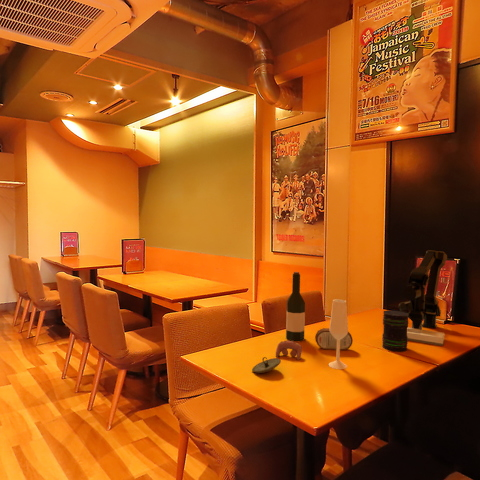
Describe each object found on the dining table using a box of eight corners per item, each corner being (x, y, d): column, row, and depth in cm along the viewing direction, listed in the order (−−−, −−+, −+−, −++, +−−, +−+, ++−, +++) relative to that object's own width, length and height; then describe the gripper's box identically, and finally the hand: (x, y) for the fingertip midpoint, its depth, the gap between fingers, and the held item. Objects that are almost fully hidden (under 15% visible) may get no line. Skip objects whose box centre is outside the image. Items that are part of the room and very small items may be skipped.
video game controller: (301, 361, 147) (303, 343, 150) (299, 360, 143) (301, 341, 146) (276, 358, 150) (278, 340, 153) (274, 356, 147) (276, 338, 149)
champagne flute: (344, 370, 135) (345, 303, 134) (325, 366, 138) (327, 301, 137) (349, 364, 141) (351, 300, 139) (331, 360, 144) (333, 298, 143)
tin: (351, 348, 158) (352, 328, 158) (353, 351, 155) (353, 331, 155) (314, 347, 160) (315, 327, 159) (315, 349, 157) (316, 329, 156)
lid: (279, 378, 127) (279, 363, 127) (250, 376, 129) (250, 361, 129) (281, 366, 138) (281, 353, 138) (254, 364, 139) (254, 351, 139)
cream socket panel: (387, 331, 184) (388, 324, 184) (444, 340, 171) (444, 332, 171) (384, 336, 176) (384, 329, 176) (442, 346, 164) (443, 338, 163)
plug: (412, 331, 186) (413, 316, 185) (421, 332, 184) (422, 318, 183) (411, 333, 182) (412, 318, 182) (420, 334, 180) (421, 319, 180)
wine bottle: (283, 340, 169) (284, 272, 167) (288, 335, 176) (289, 270, 175) (302, 342, 166) (303, 274, 164) (306, 337, 173) (307, 271, 172)
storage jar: (410, 348, 160) (412, 313, 160) (402, 353, 153) (403, 317, 152) (387, 342, 167) (388, 309, 166) (378, 347, 160) (379, 312, 159)
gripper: (403, 292, 194) (402, 322, 195) (396, 298, 178) (395, 331, 179) (427, 295, 189) (426, 326, 189) (423, 301, 173) (421, 335, 173)
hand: (417, 329), depth 183 cm, fingers open, 9 cm apart
